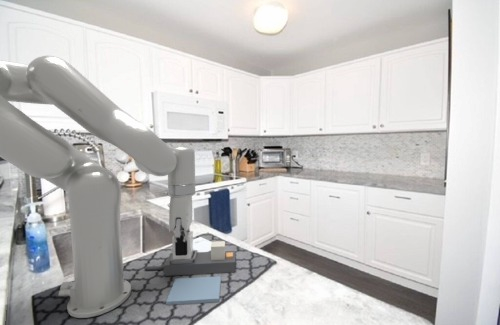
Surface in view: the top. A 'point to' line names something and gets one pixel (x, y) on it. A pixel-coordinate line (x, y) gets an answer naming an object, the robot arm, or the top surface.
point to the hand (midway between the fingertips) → (183, 250)
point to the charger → (189, 246)
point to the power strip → (200, 262)
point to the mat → (195, 290)
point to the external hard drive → (202, 245)
